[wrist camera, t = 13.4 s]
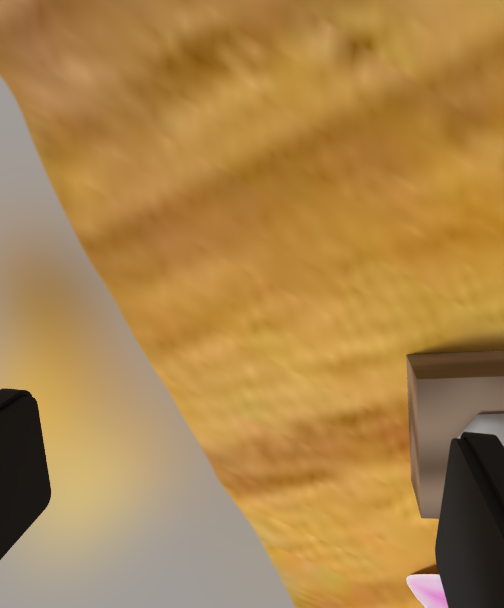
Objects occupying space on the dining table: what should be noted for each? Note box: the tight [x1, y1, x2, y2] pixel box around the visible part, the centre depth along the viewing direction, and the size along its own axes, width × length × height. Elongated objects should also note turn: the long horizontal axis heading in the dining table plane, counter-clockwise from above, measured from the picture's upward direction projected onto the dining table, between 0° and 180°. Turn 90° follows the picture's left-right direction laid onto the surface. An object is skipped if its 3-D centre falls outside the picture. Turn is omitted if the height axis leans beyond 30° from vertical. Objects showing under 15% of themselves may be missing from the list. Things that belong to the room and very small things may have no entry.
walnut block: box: [406, 350, 504, 519], centre depth 33 cm, size 12×12×5 cm
